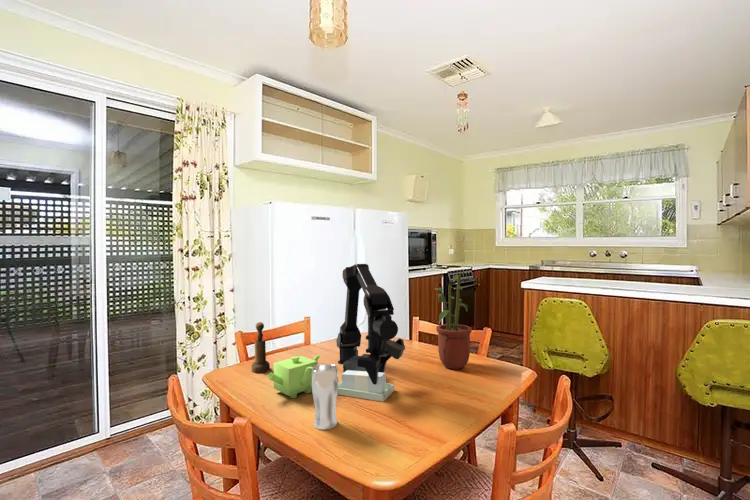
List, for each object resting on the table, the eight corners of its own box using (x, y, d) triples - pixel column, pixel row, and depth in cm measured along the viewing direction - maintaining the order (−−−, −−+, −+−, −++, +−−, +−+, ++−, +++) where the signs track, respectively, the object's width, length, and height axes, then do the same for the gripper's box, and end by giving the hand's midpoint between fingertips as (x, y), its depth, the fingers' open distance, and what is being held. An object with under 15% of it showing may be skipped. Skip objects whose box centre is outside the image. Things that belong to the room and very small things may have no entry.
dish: (333, 393, 120) (332, 387, 120) (346, 383, 128) (345, 377, 128) (384, 401, 113) (384, 395, 113) (394, 390, 122) (394, 384, 122)
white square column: (342, 389, 121) (341, 374, 121) (348, 385, 125) (347, 370, 125) (382, 393, 116) (380, 376, 116) (386, 388, 120) (385, 372, 120)
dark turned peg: (247, 371, 141) (246, 323, 141) (259, 366, 147) (258, 320, 147) (262, 373, 139) (261, 324, 138) (273, 368, 145) (272, 321, 144)
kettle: (322, 382, 129) (321, 350, 129) (317, 400, 115) (316, 363, 115) (278, 383, 129) (277, 351, 129) (267, 401, 115) (266, 364, 114)
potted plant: (478, 366, 144) (478, 274, 143) (455, 377, 133) (454, 277, 133) (440, 356, 157) (440, 272, 156) (416, 365, 146) (415, 274, 145)
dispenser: (343, 382, 130) (343, 362, 130) (354, 373, 138) (354, 355, 138) (366, 385, 126) (366, 365, 126) (376, 376, 135) (376, 357, 135)
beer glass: (313, 418, 103) (312, 363, 103) (339, 417, 104) (338, 362, 103) (311, 431, 96) (310, 372, 96) (338, 430, 97) (337, 371, 96)
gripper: (391, 341, 107) (392, 396, 107) (410, 327, 124) (410, 374, 125) (355, 338, 111) (356, 391, 111) (378, 325, 128) (379, 370, 129)
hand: (377, 381), depth 119 cm, fingers open, 5 cm apart
